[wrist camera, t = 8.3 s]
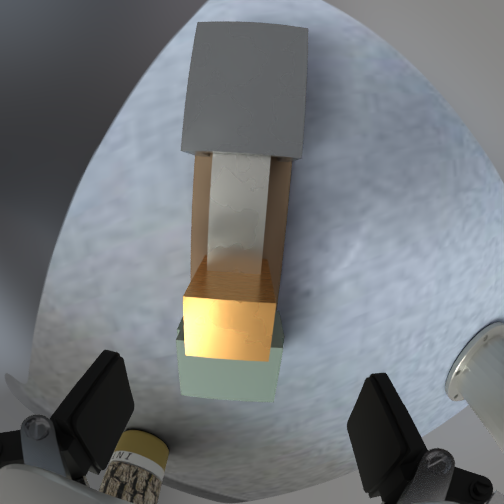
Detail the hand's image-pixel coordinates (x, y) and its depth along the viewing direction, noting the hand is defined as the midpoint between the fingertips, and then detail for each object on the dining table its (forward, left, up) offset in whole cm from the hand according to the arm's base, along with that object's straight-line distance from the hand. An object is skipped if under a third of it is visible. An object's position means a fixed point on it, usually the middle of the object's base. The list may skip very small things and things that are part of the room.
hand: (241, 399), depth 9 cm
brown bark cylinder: (+12, +25, -13) cm, 31 cm away
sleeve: (+1, -13, -12) cm, 17 cm away
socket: (+1, +5, -12) cm, 13 cm away
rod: (+1, -2, -11) cm, 12 cm away
